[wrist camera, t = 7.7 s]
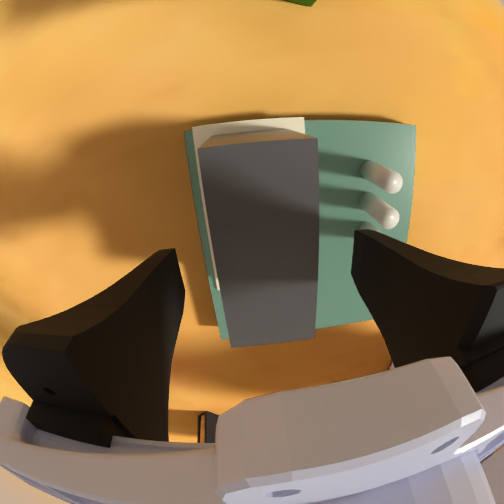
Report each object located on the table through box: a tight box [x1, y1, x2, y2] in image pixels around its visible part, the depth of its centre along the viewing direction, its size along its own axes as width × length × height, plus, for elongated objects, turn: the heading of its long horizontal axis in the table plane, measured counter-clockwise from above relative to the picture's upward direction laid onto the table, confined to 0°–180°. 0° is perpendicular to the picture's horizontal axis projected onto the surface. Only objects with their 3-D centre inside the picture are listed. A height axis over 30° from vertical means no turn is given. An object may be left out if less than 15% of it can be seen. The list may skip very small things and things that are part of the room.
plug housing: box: [197, 129, 319, 348], centre depth 13 cm, size 9×4×6 cm, turn 5°
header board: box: [184, 117, 416, 340], centre depth 17 cm, size 15×14×4 cm
